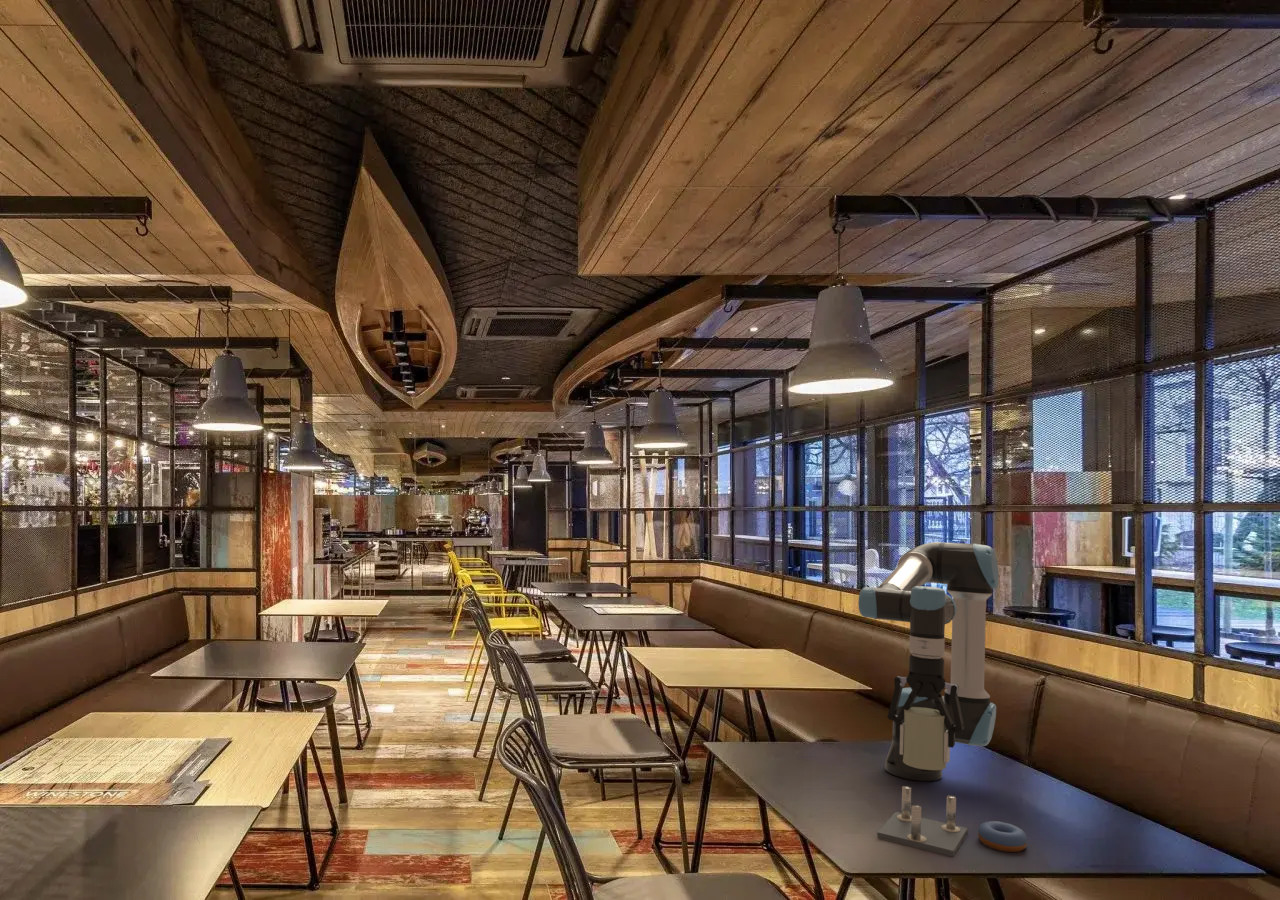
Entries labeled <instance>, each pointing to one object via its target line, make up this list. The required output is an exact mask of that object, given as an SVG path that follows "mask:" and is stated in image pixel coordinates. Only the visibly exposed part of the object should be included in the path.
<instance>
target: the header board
mask: <svg viewBox="0 0 1280 900" xmlns="http://www.w3.org/2000/svg"><path fill="white" fill-rule="evenodd" d="M901 814H902V812H899V811H895V812H894V813H893V814H892V816H890V817H889V819H887V821H886V822H885V823H884V824H883V825H882V827H881V828H880V829H879V830H878V831H877V834H876V837H877V838H876V839H879V840H884V841H889V842H892V843H896V844H901V845H905V846H909V847H913V848H916V849H920V850H925V851H928V852H931V853H932V852H933V853H936V854H940V855H945V856H947V857H955V855H956V854H957V852H958V850H959V849H960V847H961V846H962V844H963V842H964V840H965V838H966V836H967V835H968V833H969V832H968V829H969V828H968V827H963V826H960V825H956V829H955V830H951V829H947V828H946V822H942V821H937V820H934V819H929V818H924V817H921V840H920V841H915V840H912V839H911V818H910V819H904V818H902V817H901Z"/></svg>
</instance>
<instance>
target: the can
mask: <svg viewBox="0 0 1280 900" xmlns="http://www.w3.org/2000/svg"><path fill="white" fill-rule="evenodd" d="M944 717H945V716H941V714H940V712H939V710H936V709H931V708H923V707H911V708H910V709H909V710H904V756H903V762H904V763H905V764H906V765H908V766H911V767H914V768H918V769H924V770H942V771H943V770H944V769H946V768H947V763H944V732H945V731H946V726H945V723H944Z"/></svg>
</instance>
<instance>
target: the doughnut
mask: <svg viewBox="0 0 1280 900" xmlns="http://www.w3.org/2000/svg"><path fill="white" fill-rule="evenodd" d="M977 836H978V839H979V840H980V841H981V843H982V844H983V845H985V846H986V847H989V848H991V849H993V850H997V851H1001V852H1006V853H1007V852H1009V853H1017V852H1021V851H1023V850H1024V849H1026V847H1027V846H1028V837H1027V834H1026V833H1025V831H1023V829H1022V828H1019V827H1018V826H1017V825H1014V824H1012V823H1008V822H1002V821H997V820H993V821H990V820H989V821H985V822H983V823H981V824H980V825H979V826H978V831H977Z"/></svg>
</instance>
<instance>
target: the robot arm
mask: <svg viewBox="0 0 1280 900" xmlns="http://www.w3.org/2000/svg"><path fill="white" fill-rule="evenodd" d="M999 574H1000V573H999V564H998V559H997V555H996V552H995V550H994V549H993V548H992V547H991V546H989V545H985V544H978V543H961V542H959V543H958V542H942V541H935V542H934V541H933V542H927V543H924V544H920V545H918V546H916V547H913V548H911V549H909V550H907V551H906V552H904V553H903V555H901V556H900V558H899V559H898V561H897V566H896V567H895V569H894V570H893V571H892V572H891V573H889V575H888V576H887V577H886V578H885V579H884V580H883V581H882V582H881V583H880V584H879V586H878V587H875V586H871V587H870V586H868V587H867V586H865V587H862V588H861V590H860V592H859V594H858V595H859V596H858V603H857V604H858V611H859V613H860V615H861V617H863V618H869V619H873V620H885V621H892V622H893V621H894V622H903V623H904V622H905V623H909V645H908V646H909V650H908V651H909V652H910V653H911V654H910V655H909V656H908V675H907V676H901V675H897V676H896V677H894V679H893V682H894V690H893V693H892V697H891V703H890V705H889V710H888V714H887V719H888V720H890V721H892V740H891V745H890V747H889V750H888V753H887V756H886V758H885V762H884V765H885V767H884V769H885V771H886V772H887V773H889V774H890V775H893V776H895V777H899V778H902V779H907V780H913V781H918V782H919V781H921V782H931V781H932V782H933V781H938V780H940V779H942V777H943V769H942V770H924V769H918V768H914V767H911V766H908V765H906V764H905V763H904V762H903V756H904V710H909V709H910V708H911V707H923V708H931V709H936V710H939V712H940V714H941V716H945V717H944V723H945V726H946V731H945V732H944V763H946V764H948V763H949V762H950V761H951V760H950V757H951V754H950V753H951V748H954V747H955V745H956V743H959V744H963V745H968V746H970V747H971V746H976V747H985V746H987V745H989V743H990V742H991V740H992V737H993V733H994V729H995V724H996V718H997V705H996V704H995V703H993V702H991V695H990V694H989V693H988V692H987V691H986V689H985V666H986V665H985V663H986V662H985V661H986V657H985V655H986V621H987V620H986V615H987V614H986V611H987V610H986V609H987V600H988V599H989V598H990V597H992V595H993V590H995V589H997V588H998V587H999V585H1000V584H999V581H1000V580H999V578H1000V577H999V576H1000V575H999ZM927 583H932V584H941V585H942V584H943V585H947V586H946V587H947V589H946V591H947V593H949V594H947V593H946V591H945V590H944V589H943V588H940V587H935V586H928V585H927V586H924V585H925V584H927ZM950 623H951V647H950V650H951V652H950V653H951V655H950V657H951V659H950V660H951V661H950V682H946V680H945V658H943V656H945V644H946V643H945V627H946V625H947V624H950ZM906 683H907V684H908V686H909V687H905V685H906ZM943 690H944V695H942V693H941V692H942V691H943Z"/></svg>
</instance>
